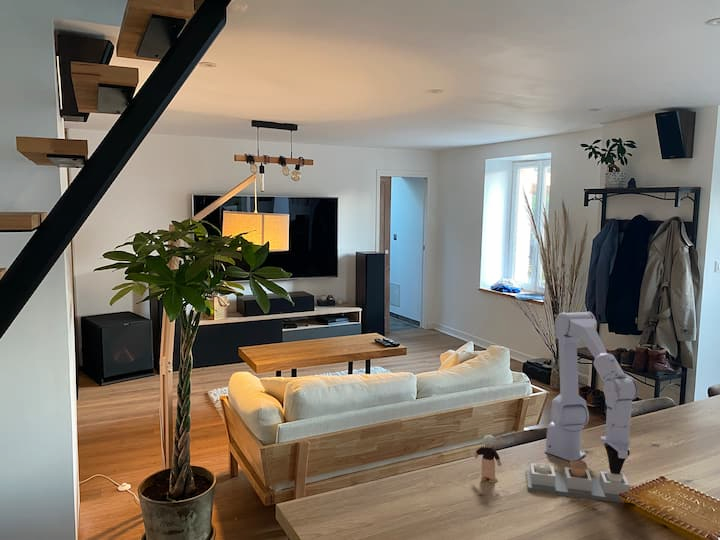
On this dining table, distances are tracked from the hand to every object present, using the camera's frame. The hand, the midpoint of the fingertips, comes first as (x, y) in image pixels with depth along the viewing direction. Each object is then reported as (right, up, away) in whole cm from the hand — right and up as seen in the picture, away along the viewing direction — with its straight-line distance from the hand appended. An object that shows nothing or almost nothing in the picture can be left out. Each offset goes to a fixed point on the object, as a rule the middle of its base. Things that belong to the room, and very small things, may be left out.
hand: (614, 472), depth 142 cm
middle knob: (-9, -2, +2) cm, 9 cm away
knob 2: (0, -3, 0) cm, 3 cm away
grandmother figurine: (-32, -5, +7) cm, 33 cm away
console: (-9, -5, +3) cm, 11 cm away
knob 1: (-18, -3, +5) cm, 18 cm away
